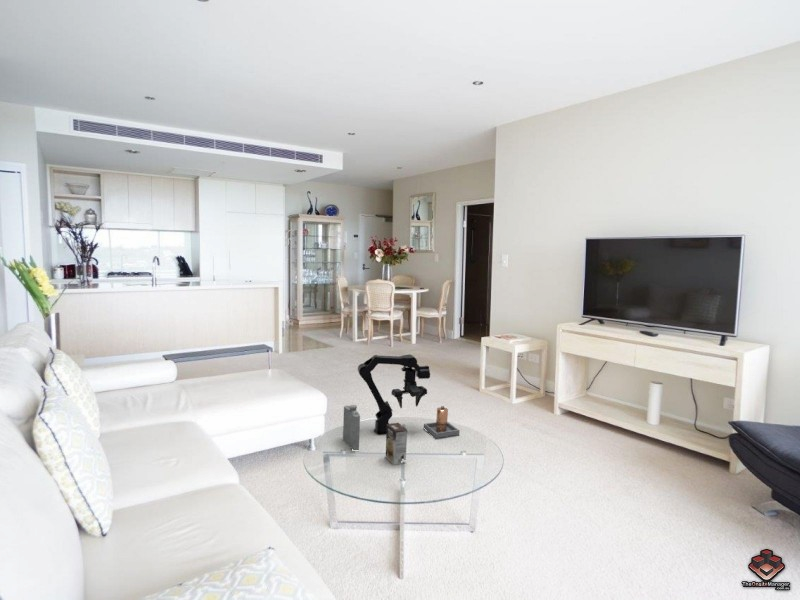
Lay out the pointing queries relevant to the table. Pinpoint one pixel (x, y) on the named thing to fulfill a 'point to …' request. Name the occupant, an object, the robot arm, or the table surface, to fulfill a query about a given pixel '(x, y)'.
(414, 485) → the table surface
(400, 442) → the coffee box
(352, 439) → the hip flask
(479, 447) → the table surface
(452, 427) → the fill tray
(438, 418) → the copper bottle
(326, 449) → the table surface
